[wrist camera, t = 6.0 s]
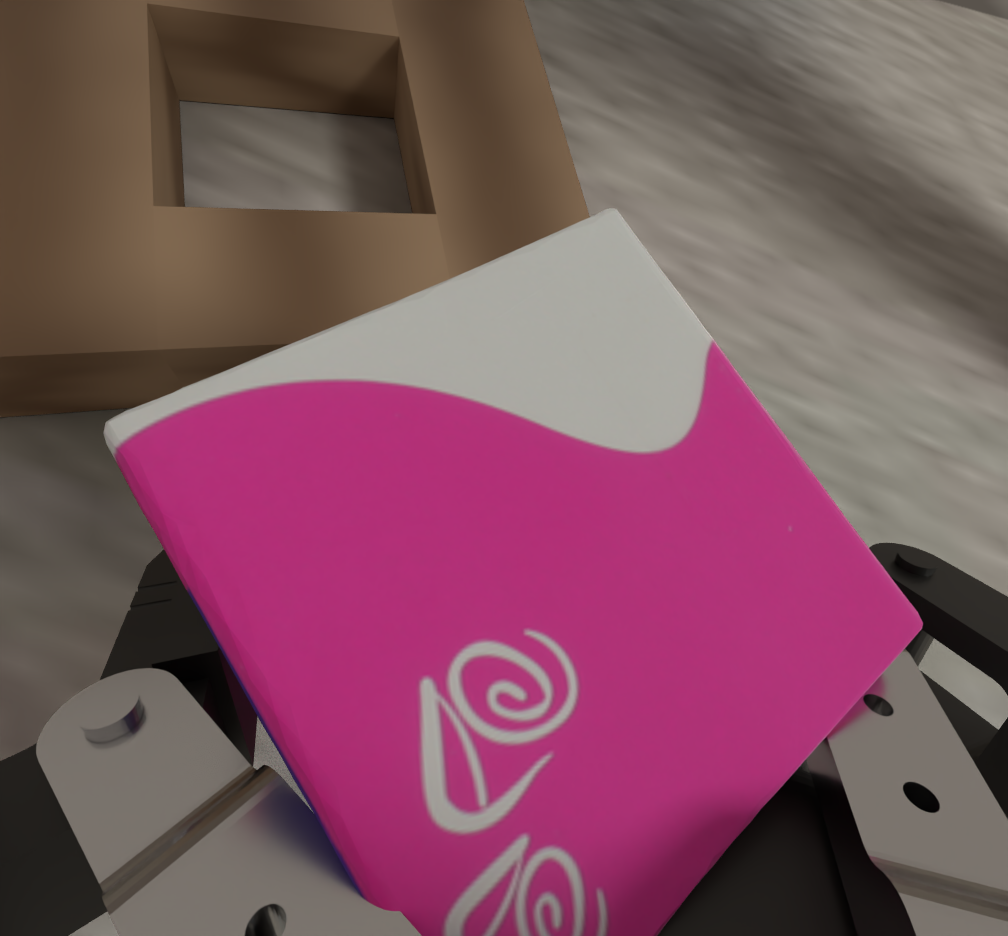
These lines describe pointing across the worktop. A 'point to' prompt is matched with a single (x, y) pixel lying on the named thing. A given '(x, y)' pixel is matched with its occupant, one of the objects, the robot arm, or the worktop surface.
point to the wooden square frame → (246, 232)
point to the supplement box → (519, 586)
